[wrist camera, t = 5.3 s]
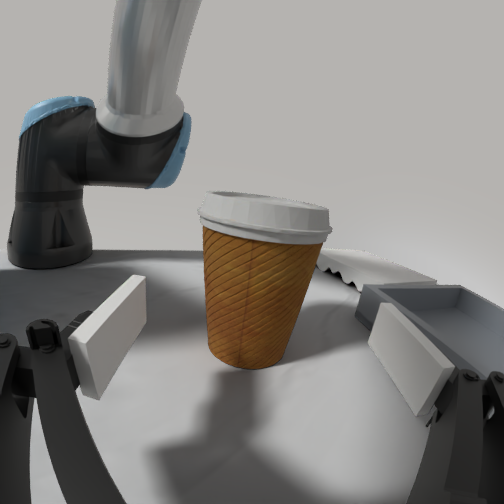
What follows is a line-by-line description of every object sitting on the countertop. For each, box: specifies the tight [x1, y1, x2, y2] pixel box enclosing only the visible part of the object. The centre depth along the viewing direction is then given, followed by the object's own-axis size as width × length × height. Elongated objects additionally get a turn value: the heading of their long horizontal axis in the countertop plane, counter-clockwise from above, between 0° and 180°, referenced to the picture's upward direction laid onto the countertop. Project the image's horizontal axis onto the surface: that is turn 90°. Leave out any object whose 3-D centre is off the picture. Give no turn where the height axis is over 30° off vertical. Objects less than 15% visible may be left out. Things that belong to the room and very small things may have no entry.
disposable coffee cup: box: [197, 191, 332, 369], centre depth 21 cm, size 10×10×12 cm
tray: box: [355, 284, 504, 419], centre depth 22 cm, size 20×20×4 cm
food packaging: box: [316, 248, 437, 292], centre depth 46 cm, size 15×3×20 cm
